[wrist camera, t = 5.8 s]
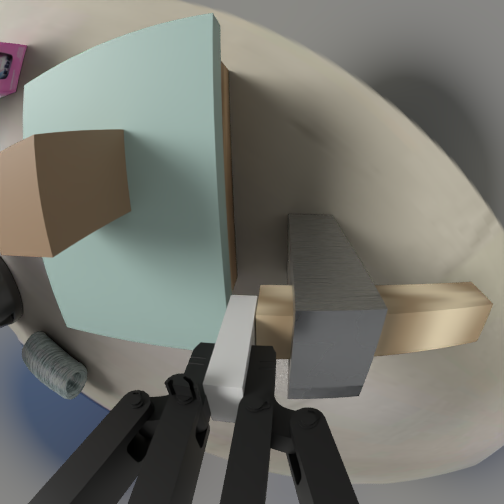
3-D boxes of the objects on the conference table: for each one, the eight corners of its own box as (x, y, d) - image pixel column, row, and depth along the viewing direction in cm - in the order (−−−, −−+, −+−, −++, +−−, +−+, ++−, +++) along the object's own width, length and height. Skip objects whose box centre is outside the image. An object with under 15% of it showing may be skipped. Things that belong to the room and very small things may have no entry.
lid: (78, 315, 22) (25, 373, 14) (40, 85, 14) (-42, 87, 5) (235, 336, 20) (211, 435, 12) (220, 25, 12) (166, -55, 4)
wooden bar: (261, 325, 17) (256, 358, 14) (260, 284, 16) (255, 315, 13) (458, 317, 15) (476, 341, 12) (471, 281, 14) (493, 304, 11)
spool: (93, 378, 34) (54, 412, 27) (97, 380, 41) (64, 409, 34) (45, 313, 35) (7, 344, 28) (56, 326, 42) (23, 353, 35)
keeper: (287, 273, 27) (287, 398, 13) (288, 214, 24) (295, 310, 11) (327, 273, 26) (358, 396, 12) (331, 214, 24) (387, 309, 10)
